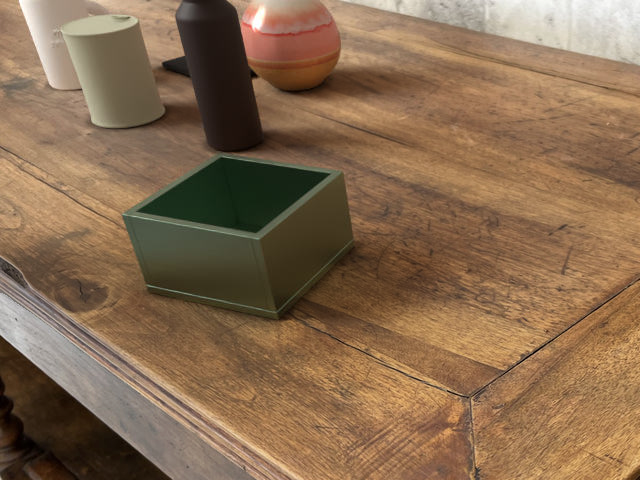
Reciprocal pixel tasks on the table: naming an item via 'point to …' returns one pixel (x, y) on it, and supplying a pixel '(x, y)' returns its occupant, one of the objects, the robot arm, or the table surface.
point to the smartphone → (184, 66)
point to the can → (114, 70)
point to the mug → (57, 35)
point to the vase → (291, 42)
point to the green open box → (242, 233)
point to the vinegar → (219, 73)
